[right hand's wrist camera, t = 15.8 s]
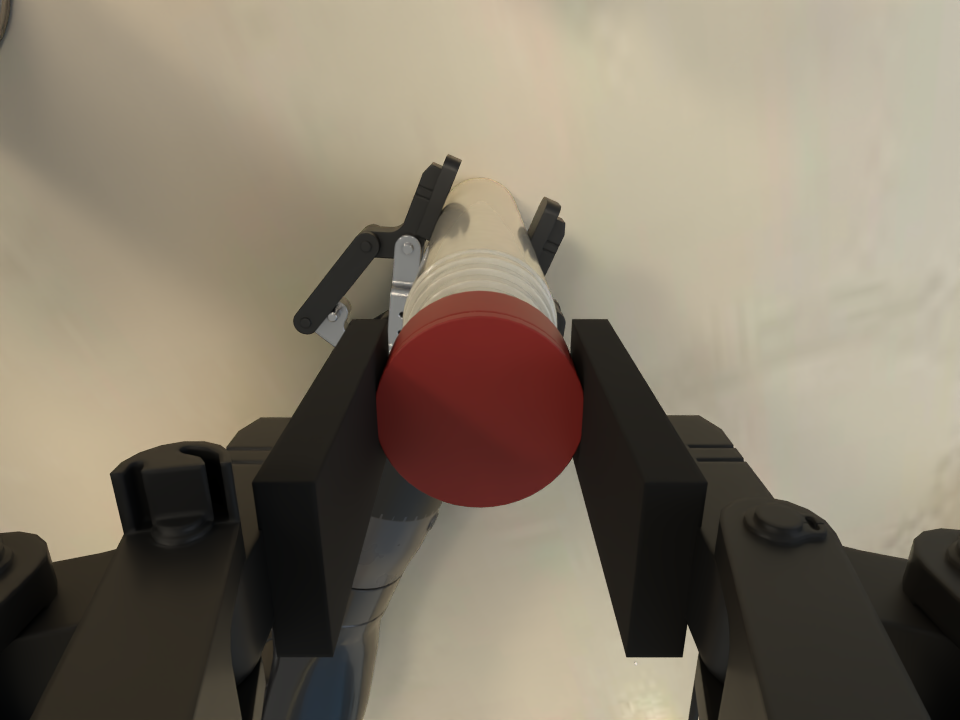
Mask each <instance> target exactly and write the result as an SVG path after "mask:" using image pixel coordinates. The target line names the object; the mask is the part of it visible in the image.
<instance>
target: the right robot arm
mask: <svg viewBox="0 0 960 720" xmlns="http://www.w3.org/2000/svg"><path fill="white" fill-rule="evenodd" d="M570 355H571V358H572V360H573V363H574V366H575V368H576V371H577V374H578V376H579V379H580V382H581V385H582V388H583V392H584V400H583V416H582V432H581V441H580V443H579V446H578V448H577V450H576V452H575V454H574V456H573V460H574V464H575V467H576V471H577V475H578V479H579V482H580V486H581V490H582V494H583V497H584V501H585V505H586V508H587V512H588V516H589V520H590V523H591V527H592V531H593V535H594V538H595V542H596V546H597V549H598V553H599V557H600V561H601V564H602V568H603V572H604V576H605V579H606V583H607V587H608V590H609V594H610V598H611V602H612V605H613V609H614V613H615V617H616V620H617V624H618V628H619V631H620V635H621V639H622V643H623V646H624V650H625V654H626V657H683V651H684V644H685V637H686V630H687V624H688V626H689V629H690V631H691V634H692V636H693V639H694V641H695V644H696V646H697V649H698V651H699V654H698V661H697V667H696V674H695V680H694V686H693V693H692V699H691V705H690V712H689V719H688V720H698V716H699V720H960V530H954V529H942V528H941V529H935V530H929V531H923V532H922V533H921V534H920V535H919V536H917V537H916V538H915V539H914V541H913V545H912V548H911V552H910V555H909V559H902V558H897V557H892V556H887V555H882V554H876V553H871V552H866V551H861V550H856V549H852V548H848V547H844V546H842V544H841V542H840V540H839V538H838V536H837V534H836V533H835V531H834V530H833V529H832V528H831V527H830V525H829V524H828V523H827V522H826V521H825V520H824V519H822V518H821V517H819V516H818V515H816V514H815V513H813V512H811V511H810V510H808V509H806V508H803V507H801V506H798V505H796V504H793V503H790V502H788V501H783V500H778V499H774V498H773V496H772V495H771V494H770V492H769V491H768V490H767V488H766V487H765V486H764V484H763V483H762V482H761V481H760V479H759V478H758V477H757V475H756V474H755V473H754V471H753V470H752V469H751V467H750V466H749V465H748V463H747V462H744V458H743V457H742V456H741V454H740V453H739V452H738V450H737V449H736V448H734V447H733V444H732V442H731V441H730V440H729V439H728V437H727V436H726V435H725V433H724V432H723V431H722V429H720V428H719V427H717V426H715V425H714V424H712V423H711V422H709V421H707V420H706V419H704V418H702V417H701V416H699V415H666V414H665V412H664V410H663V409H662V407H661V405H660V404H659V402H658V401H657V399H656V397H655V396H654V394H653V392H652V391H651V389H650V388H649V386H648V384H647V383H646V381H645V379H644V378H643V376H642V375H641V373H640V371H639V370H638V368H637V366H636V365H635V363H634V362H633V360H632V358H631V357H630V355H629V353H628V352H627V350H626V349H625V347H624V345H623V344H622V342H621V340H620V339H619V337H618V336H617V334H616V332H615V331H614V329H613V327H612V326H611V324H610V323H609V321H608V319H572V333H571V351H570ZM388 356H389V341H388V322H387V319H352V320H351V322H350V323H349V325H348V327H347V328H346V330H345V332H344V333H343V335H342V336H341V338H340V340H339V341H338V343H337V345H336V346H335V348H334V349H333V351H332V353H331V354H330V356H329V358H328V359H327V361H326V362H325V364H324V366H323V367H322V369H321V371H320V372H319V374H318V375H317V377H316V379H315V380H314V382H313V384H312V385H311V387H310V388H309V390H308V392H307V393H306V395H305V397H304V398H303V400H302V401H301V403H300V405H299V406H298V408H297V410H296V411H295V413H294V414H293V416H292V418H259V419H258V420H256V421H254V422H253V423H251V424H250V425H248V426H246V427H245V428H243V429H241V430H240V431H238V433H237V434H236V435H235V437H234V438H233V439H232V441H231V442H230V443H229V445H228V446H227V447H226V448H227V449H225V448H224V447H222V446H221V445H218V444H213V443H209V442H205V441H184V442H178V443H172V444H166V445H161V446H158V447H155V448H152V449H149V450H146V451H143V452H140V453H138V454H136V455H134V456H132V457H130V458H129V459H127V460H125V461H123V462H121V463H120V464H119V465H118V466H117V467H116V468H115V469H114V470H113V471H112V472H111V473H110V476H111V481H112V485H113V489H114V493H115V498H116V502H117V506H118V510H119V515H120V519H121V523H122V527H123V532H124V535H123V537H122V539H121V541H120V543H119V545H118V547H117V549H115V550H111V551H107V552H103V553H99V554H94V555H89V556H83V557H78V558H73V559H68V560H63V561H58V562H52V560H51V557H50V553H49V550H48V547H47V543H46V542H45V541H44V540H43V539H42V538H40V537H39V536H38V535H36V534H30V533H25V532H8V533H0V720H261V716H262V708H263V701H264V693H265V685H266V682H265V674H264V667H263V661H262V654H261V653H262V651H263V649H264V646H265V644H266V641H267V639H268V636H269V634H270V631H271V629H272V626H273V633H274V640H275V647H276V654H277V657H333V656H334V652H335V648H336V645H337V641H338V637H339V634H340V630H341V626H342V622H343V619H344V615H345V611H346V607H347V604H348V600H349V596H350V593H351V589H352V585H353V581H354V578H355V574H356V570H357V566H358V563H359V559H360V555H361V552H362V548H363V544H364V540H365V537H366V533H367V529H368V526H369V522H370V518H371V514H372V511H373V507H374V503H375V499H376V496H377V492H378V488H379V485H380V481H381V477H382V473H383V470H384V466H385V462H386V459H387V456H386V455H385V453H384V451H383V449H382V447H381V444H380V442H379V438H378V423H377V407H376V391H377V387H378V384H379V380H380V378H381V375H382V372H383V370H384V367H385V364H386V362H387V359H388Z"/></svg>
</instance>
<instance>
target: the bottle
mask: <svg viewBox="0 0 960 720" xmlns="http://www.w3.org/2000/svg"><path fill="white" fill-rule="evenodd" d="M467 291H493V292H498V293H504V294H507V295H510V296H513V297H516V298H519V299H521V300H523V301H525V302H527V303H529V304H530V305H532V306H534V307H535V308H537V309H538V310H539V311H541V312H542V313H543V314H544V315H545V316H546V317H548V318H549V320H550V321H551V322H552V323H553V324H554V325H555V326H556V328H557V313H556V308H555V303H554V300H553V297H552V295H551V292H550V289H549V287H548V284H547V282H546V279H545V277H544V274H543V272H542V269H541V266H540V264H539V261H538V259H537V256H536V254H535V251H534V249H533V246H532V244H531V241H530V238H529V236H528V233H527V231H526V228H525V226H524V223H523V221H522V218H521V215H520V213H519V210H518V208H517V205H516V203H515V200H514V198H513V196H512V195H511V193H510V192H509V191H508V190H507V189H506V188H505V187H504V186H503V185H501V184H500V183H498V182H496V181H494V180H491V179H487V178H473V179H469V180H466V181H464V182H462V183H460V184H459V185H457V186H456V187H455V188H454V189H453V190H452V191H451V192H450V193H449V195H448V196H447V199H446V201H445V204H444V206H443V209H442V211H441V214H440V216H439V218H438V221H437V223H436V225H435V228H434V230H433V233H432V236H431V238H430V241H429V243H428V246H427V248H426V251H425V253H424V256H423V258H422V261H421V263H420V266H419V269H418V271H417V274H416V276H415V279H414V281H413V284H412V286H411V289H410V291H409V294H408V296H407V299H406V303H405V306H404V312H403V327H404V326H405V325H406V324H407V322H408V321H409V320H410V319H411V318H412V317H413V316H414V315H416V314H417V313H418V312H419V311H420V310H422V309H423V308H425V307H426V306H428V305H429V304H431V303H433V302H435V301H437V300H439V299H441V298H443V297H446V296H449V295H452V294H456V293H461V292H467Z"/></svg>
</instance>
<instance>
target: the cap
mask: <svg viewBox="0 0 960 720" xmlns="http://www.w3.org/2000/svg"><path fill="white" fill-rule="evenodd" d="M583 400H584V392H583V388H582V385H581V382H580V379H579V376H578V374H577V371H576V368H575V366H574V363H573V360H572V358H571V355H570V352H569V350H568V347H567V345H566V343H565V341H564V339H563V337H562V335H561V334H560V332H559V331H558V329H557V328H556V326H555V325H554V324H553V323H552V322H551V321H550V320H549V318H548V317H546V316H545V315H544V314H543V313H542V312H541V311H539V310H538V309H537V308H535V307H534V306H532V305H530V304H529V303H527V302H525V301H523V300H521V299H519V298H516V297H513V296H510V295H507V294H504V293H498V292H493V291H467V292H461V293H456V294H452V295H449V296H446V297H443V298H441V299H439V300H437V301H435V302H433V303H431V304H429V305H428V306H426V307H425V308H423V309H422V310H420V311H419V312H418V313H417V314H416V315H414V316H413V317H412V318H411V319H410V320H409V321H408V322H407V324H406V325H405V326H404V327H403V328H402V330H401V331H400V333H399V335H398V336H397V338H396V340H395V342H394V344H393V346H392V348H391V351H390V354H389V356H388V359H387V362H386V364H385V367H384V370H383V372H382V375H381V378H380V380H379V384H378V387H377V391H376V407H377V423H378V438H379V442H380V444H381V447H382V449H383V451H384V453H385V455H386V456H387V458H388V460H389V461H390V463H391V464H392V466H393V467H394V468H395V469H396V470H397V472H398V473H399V474H400V475H401V476H402V477H403V478H404V479H405V480H406V481H408V482H409V483H410V484H411V485H413V486H414V487H415V488H417V489H418V490H420V491H422V492H423V493H425V494H427V495H429V496H431V497H433V498H436V499H438V500H440V501H443V502H447V503H450V504H454V505H459V506H466V507H494V506H500V505H506V504H509V503H513V502H516V501H519V500H522V499H524V498H526V497H529V496H531V495H533V494H534V493H536V492H538V491H540V490H541V489H543V488H544V487H546V486H547V485H548V484H550V483H551V482H552V481H553V480H554V479H555V478H556V477H557V476H558V475H559V474H560V473H561V472H562V471H563V470H564V469H565V467H566V466H567V465H568V464H569V462H570V461H571V459H572V457H573V456H574V454H575V452H576V450H577V448H578V446H579V443H580V441H581V432H582V416H583Z"/></svg>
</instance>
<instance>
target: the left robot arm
mask: <svg viewBox="0 0 960 720" xmlns="http://www.w3.org/2000/svg"><path fill="white" fill-rule="evenodd" d="M9 11H10V0H0V41H1V39H2V37H3V34H4V32H5V29H6V26H7V23H8V18H9ZM461 161H462V160H460V159H458V158H456V157H454V156H451V155H449V154H448V155H447V157H446V159H445V161H444V164H443V166H441V165H439V164H437V163H434V162H433V163H432V164H431V165H430V166H429V167H428V168H427V169H426V170H425V172H424V173H423V174H422V177H421V180H420V182H419V185H418V187H417V190H416V193H415V195H414V198H413V200H412V203H411V206H410V208H409V211H408V214H407V216H406V219H405V221H404V223H403V224H402V225H400V226H398V227H380V226H378V225H374V224H373V225H369V226H367V227H366V228H365V229H363V230H362V231H361V232H360V233H359V234H358V236H357V237H356V238H355V239H354V240H353V241H352V243H351V244H350V245H349V247H348V248H347V249H346V250H345V252H344V253H343V254H342V256H341V257H340V258H339V259H338V261H337V262H336V263H335V265H334V266H333V267H332V268H331V270H330V271H329V272H328V274H327V275H326V276H325V277H324V279H323V280H322V281H321V283H320V284H319V285H318V286H317V288H316V289H315V290H314V292H313V293H312V294H311V295H310V297H309V298H308V299H307V300H306V302H305V303H304V304H303V306H302V307H301V308H300V309H299V311H298V312H297V313H296V315H295V316H294V319H293V323H294V326H295V328H296V329H297V330H298V331H299V332H300V333H303V334H312V333H314V332H315V333H317V334H318V335H319V336H321V337H322V338H323V339H325V340H326V341H327V342H329V343H330V344H331V345H333V346H334V347H335V346H336V345H337V343H338V341H339V340H340V338H341V336H342V335H343V333H344V332H345V330H346V328H347V327H348V321H347V320H348V316H349V314H350V312H351V304H350V302H349V301H348V300H347V299H346V298H345V297H343V296H344V295H345V294H346V292H347V291H348V290H349V289H350V287H351V286H352V285H353V284H354V282H355V281H356V280H357V279H358V277H359V276H360V275H361V274H362V272H363V271H364V270H365V269H366V267H367V266H368V265H369V264H370V262H371V261H372V260H373V259H374V257H375V258H393V259H394V265H393V279H392V286H391V293H390V306H389V310H388V311H386V312H384V313H383V314H381V315H379V316H378V317H376V318H374V319H387V322H388V341H389V354H390V351H391V348H392V346H393V344H394V342H395V340H396V338H397V336H398V335H399V333H400V331H401V330H402V328H403V312H404V306H405V303H406V299H407V296H408V294H409V291H410V289H411V286H412V284H413V281H414V279H415V276H416V274H417V271H418V269H419V266H420V263H421V261H422V258H423V256H424V248H425V241H426V240H429V241H430V238H431V236H432V233H433V230H434V228H435V225H436V223H437V221H438V218H439V216H440V214H441V211H442V209H443V206H444V204H445V201H446V199H447V196H448V194H449V191H450V189H451V186H452V184H453V181H454V179H455V176H456V174H457V171H458V169H459V166H460V164H461ZM560 210H561V206H560V205H559V203H557V202H555V201H553V200H551V199H549V198H546V197H544V198H543V199H542V201H541V203H540V205H539V207H538V210H537V212H536V214H535V216H534V218H533V221H532V223H531V225H530V227H529V229H528V232H527V233H528V236H529V238H530V241H531V244H532V246H533V249H534V251H535V254H536V256H537V259H538V261H539V264H540V266H541V269H542V272H543V274H544V277H545V275H546V273H547V270H548V268H549V266H550V264H551V262H552V260H553V258H554V256H555V254H556V252H557V249H558V247H559V245H560V243H561V241H562V239H563V237H564V234H565V222H564V221H563V220H562V218H559V217H558V215H559V213H560ZM553 300H554V299H553ZM554 303H555V308H556V313H557V329H558V331H559V332H560V334H561V335H562V337H563V336H564V329H565V318H564V316H563V314H562V313H561V310H560V306H559V304H558V302H557V301H556V300H554ZM441 503H442V501H440V500H438V499H436V498H433V497H431V496H429V495H427V494H425V493H423V492H422V491H420V490H418V489H417V488H415V487H414V486H413V485H411V484H410V483H409V482H408V481H406V480H405V479H404V478H403V477H402V476H401V475H400V474H399V473H398V472H397V470H396V469H395V468H394V467H393V466H392V464H391V463H390V461H389V460H388V458H387V459H386V462H385V466H384V470H383V473H382V477H381V481H380V485H379V488H378V492H377V496H376V499H375V503H374V507H373V511H372V514H371V518H370V522H369V526H368V529H367V533H366V537H365V540H364V544H363V548H362V552H361V555H360V559H359V563H358V566H357V570H356V574H355V578H354V581H353V585H352V589H351V593H350V596H349V600H348V604H347V607H346V611H345V615H344V619H343V622H342V626H341V630H340V634H339V637H338V641H337V645H336V648H335V652H334V656H333V657H277V654H276V647H275V640H274V633H273V626H272V629H271V631H270V634H269V636H268V639H267V641H266V644H265V646H264V649H263V651H262V653H261V654H262V661H263V667H264V674H265V682H266V685H265V693H264V701H263V708H262V716H261V720H363V717H364V715H365V711H366V707H367V703H368V699H369V694H370V689H371V683H372V677H373V672H374V666H375V660H376V654H377V648H378V639H379V628H380V621H381V618H382V616H383V614H384V612H385V610H386V608H387V606H388V604H389V601H390V599H391V597H392V595H393V593H394V591H395V589H396V587H397V585H398V582H399V580H400V578H401V576H402V574H403V572H404V570H405V569H406V567H407V565H408V564H409V562H410V561H411V559H412V558H413V556H414V555H415V554H416V552H417V551H418V549H419V547H420V546H421V544H422V542H423V540H424V538H425V537H426V535H427V533H428V531H429V530H430V529H431V528H432V526H433V524H434V522H435V520H436V518H437V516H438V514H439V513H438V511H439V508H440V506H441Z"/></svg>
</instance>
